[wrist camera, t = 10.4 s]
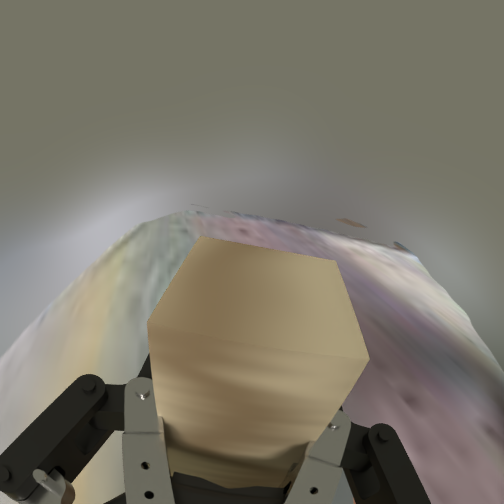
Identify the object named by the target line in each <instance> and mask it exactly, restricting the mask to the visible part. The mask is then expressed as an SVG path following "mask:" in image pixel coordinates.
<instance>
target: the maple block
mask: <svg viewBox="0 0 504 504" xmlns="http://www.w3.org/2000/svg"><path fill="white" fill-rule="evenodd" d="M147 328H148V341H149V353H150V363H151V372H152V380H153V388H154V396H155V403H156V409H157V415H158V416H161V417H162V419H163V427H164V435H165V442H166V445H167V452H168V458H169V465H170V470H171V476H173V473H174V471H175V472H179V473H183V474H187V475H191V476H196V477H201V478H203V479H205V480H208V481H210V482H213V483H215V484H218V485H220V486H223V487H225V488H242V487H252V486H263V487H276V488H278V487H279V486H280V484H281V483H282V482H283V480H284V478H285V476H286V474H287V472H288V470H289V468H290V466H291V465H292V464H293V463H298V462H299V460H300V459H301V456H302V454H303V452H304V449H305V447H306V445H307V444H308V443H309V441H310V440H311V441H317V439H318V438H319V437H320V435H321V434H322V432H323V431H324V430H325V428H326V427H327V426H328V424H329V423H330V421H331V420H332V418H333V417H334V416H335V414H336V413H337V411H338V410H339V408H340V407H341V405H342V404H343V402H344V401H345V399H346V397H347V396H348V394H349V393H350V391H351V390H352V388H353V386H354V385H355V383H356V382H357V380H358V378H359V377H360V375H361V373H362V372H363V370H364V368H365V366H366V365H367V363H368V361H369V359H370V358H369V355H368V352H367V348H366V345H365V342H364V339H363V336H362V333H361V330H360V327H359V324H358V321H357V318H356V315H355V312H354V309H353V307H352V304H351V301H350V298H349V295H348V293H347V290H346V287H345V284H344V282H343V279H342V276H341V274H340V271H339V269H338V266H337V263H336V261H333V260H327V259H322V258H317V257H311V256H306V255H301V254H295V253H290V252H285V251H279V250H274V249H268V248H263V247H258V246H252V245H247V244H241V243H236V242H230V241H225V240H219V239H214V238H208V237H203V236H200V237H199V239H198V240H197V242H196V243H195V245H194V246H193V248H192V249H191V251H190V252H189V254H188V256H187V257H186V259H185V260H184V262H183V264H182V265H181V267H180V268H179V270H178V272H177V273H176V275H175V276H174V278H173V280H172V281H171V283H170V284H169V286H168V288H167V289H166V291H165V293H164V294H163V296H162V298H161V299H160V301H159V303H158V304H157V306H156V308H155V309H154V311H153V313H152V314H151V316H150V318H149V319H148V321H147Z"/></svg>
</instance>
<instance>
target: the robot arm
mask: <svg viewBox="0 0 504 504" xmlns="http://www.w3.org/2000/svg"><path fill="white" fill-rule="evenodd" d="M114 430H118V431H124V433H123V434H122V451H123V469H124V482H125V493H123V494H121V495H119V496H117V497H115V498H113V499H112V500H110V501H108V502H106V503H104V504H331V503H332V501H333V498H334V495H335V492H336V489H337V487H338V484H339V481H340V478H341V474H342V468H343V471H344V473H345V476H346V479H347V482H348V484H349V487H350V490H351V492H352V495H353V498H354V500H355V503H356V504H431V502H430V500H429V498H428V496H427V494H426V492H425V490H424V487H423V485H422V483H421V481H420V479H419V477H418V475H417V473H416V471H415V469H414V467H413V465H412V463H411V461H410V459H409V457H408V455H407V453H406V451H405V449H404V447H403V445H402V443H401V441H400V439H399V437H398V435H397V433H396V431H395V430H394V429H393V428H392V427H391V426H389V425H387V424H383V423H379V424H375V425H374V426H372V427H371V428H367V427H363V426H360V425H357V424H354V423H352V422H351V421H350V419H349V417H348V416H347V415H346V414H345V413H344V412H343V410H342V405H341V407H340V408H339V410H338V411H337V413H336V414H335V416H334V417H333V418H332V420H331V421H330V423H329V424H328V426H327V427H326V428H325V430H324V431H323V432H322V434H321V435H320V437H319V438H318V439H317V441H311V440H310V441H309V443H308V444H307V445H306V447H305V449H304V452H303V454H302V456H301V459H300V460H299V462H298V463H293V464H292V465H291V466H290V468H289V470H288V472H287V474H286V476H285V478H284V480H283V482H282V483H281V485H280V486H279V488H276V487H263V486H252V487H242V488H225V487H223V486H220V485H218V484H215V483H213V482H210V481H208V480H205V479H203V478H201V477H196V476H191V475H187V474H183V473H179V472H175V471H174V473H173V476H171V470H170V465H169V458H168V452H167V445H166V442H165V435H164V427H163V419H162V417H161V416H158V415H157V409H156V403H155V396H154V388H153V380H152V372H151V363H150V353H149V354H148V357H147V359H146V361H145V363H144V365H143V367H142V369H141V371H140V373H139V375H138V377H137V378H134V379H132V380H130V381H129V382H128V383H127V384H124V385H111V384H105V383H104V381H103V380H102V379H101V378H100V377H98V376H96V375H93V374H86V375H82V376H80V377H79V378H77V379H76V380H75V381H74V382H73V383H72V384H71V385H70V386H69V387H68V388H67V389H66V390H65V391H64V392H63V393H62V394H61V395H60V396H59V397H58V398H57V399H56V400H55V401H54V402H53V403H52V404H50V405H49V406H48V407H47V408H46V409H45V410H44V411H43V412H42V413H41V414H40V415H39V416H38V417H37V418H36V419H35V420H34V421H33V422H32V423H31V424H30V425H29V426H28V427H27V428H26V429H25V430H24V431H23V432H22V433H21V434H20V435H19V437H18V438H17V439H16V440H15V441H14V442H13V443H12V444H11V445H10V446H9V447H8V448H7V449H6V450H5V451H4V452H3V453H2V454H1V455H0V491H2V492H3V493H5V494H6V495H7V496H8V497H10V498H11V499H13V500H14V501H16V502H18V503H19V504H72V503H73V501H74V499H75V490H74V488H73V486H72V485H71V483H72V482H73V481H74V479H75V478H76V477H77V476H78V474H79V473H80V472H81V471H82V470H83V468H84V467H85V466H86V465H87V464H88V462H89V461H90V460H91V459H92V457H93V456H94V455H95V454H96V453H97V451H98V450H99V449H100V448H101V446H102V445H103V444H104V443H105V441H106V440H107V439H108V438H109V437H110V435H111V434H112V433H113V432H114Z"/></svg>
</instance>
